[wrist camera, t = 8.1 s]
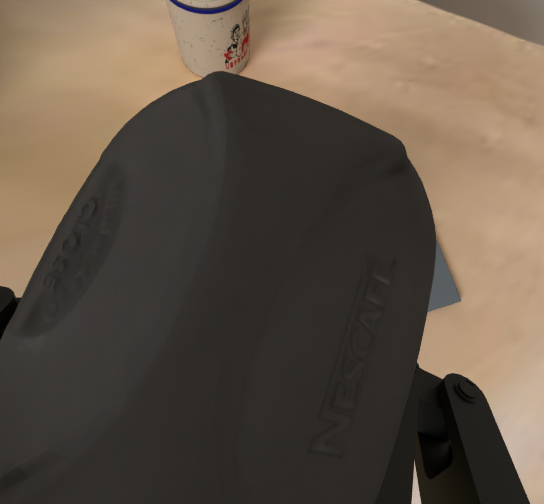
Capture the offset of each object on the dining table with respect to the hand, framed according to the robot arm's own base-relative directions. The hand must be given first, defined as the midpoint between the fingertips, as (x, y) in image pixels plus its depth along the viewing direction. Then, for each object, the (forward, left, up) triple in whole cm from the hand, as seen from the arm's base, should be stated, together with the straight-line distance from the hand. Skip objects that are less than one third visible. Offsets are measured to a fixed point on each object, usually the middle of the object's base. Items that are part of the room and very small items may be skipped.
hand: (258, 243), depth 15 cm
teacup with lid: (-30, +3, -15) cm, 34 cm away
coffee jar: (+3, -2, -8) cm, 9 cm away
